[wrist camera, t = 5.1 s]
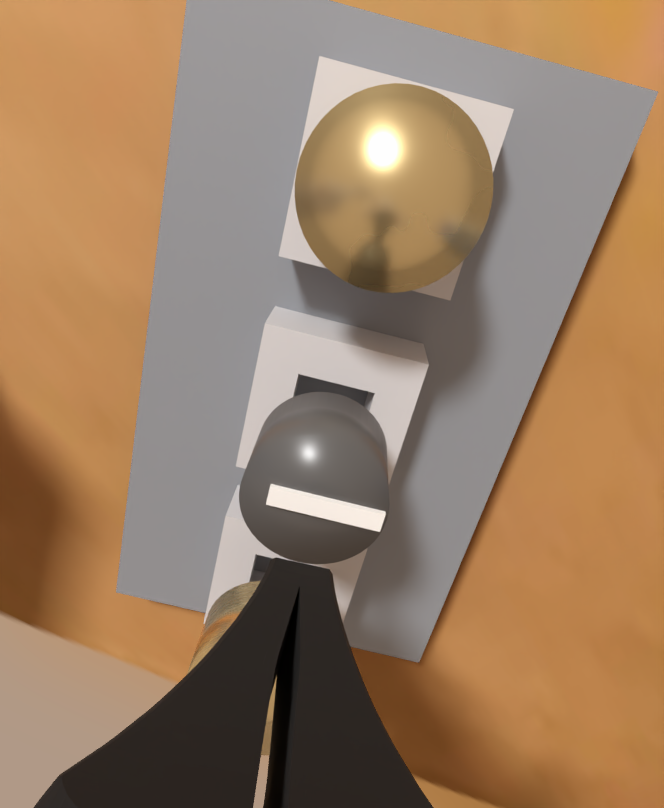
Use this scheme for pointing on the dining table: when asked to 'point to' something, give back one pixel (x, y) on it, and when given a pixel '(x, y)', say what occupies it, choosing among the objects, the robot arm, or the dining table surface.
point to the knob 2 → (393, 188)
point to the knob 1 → (218, 624)
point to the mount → (351, 299)
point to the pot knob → (317, 480)
